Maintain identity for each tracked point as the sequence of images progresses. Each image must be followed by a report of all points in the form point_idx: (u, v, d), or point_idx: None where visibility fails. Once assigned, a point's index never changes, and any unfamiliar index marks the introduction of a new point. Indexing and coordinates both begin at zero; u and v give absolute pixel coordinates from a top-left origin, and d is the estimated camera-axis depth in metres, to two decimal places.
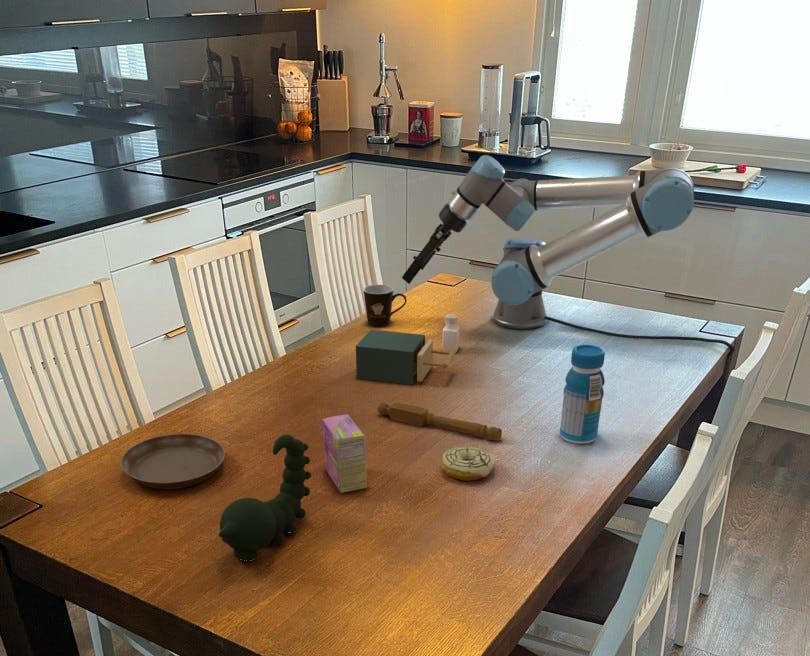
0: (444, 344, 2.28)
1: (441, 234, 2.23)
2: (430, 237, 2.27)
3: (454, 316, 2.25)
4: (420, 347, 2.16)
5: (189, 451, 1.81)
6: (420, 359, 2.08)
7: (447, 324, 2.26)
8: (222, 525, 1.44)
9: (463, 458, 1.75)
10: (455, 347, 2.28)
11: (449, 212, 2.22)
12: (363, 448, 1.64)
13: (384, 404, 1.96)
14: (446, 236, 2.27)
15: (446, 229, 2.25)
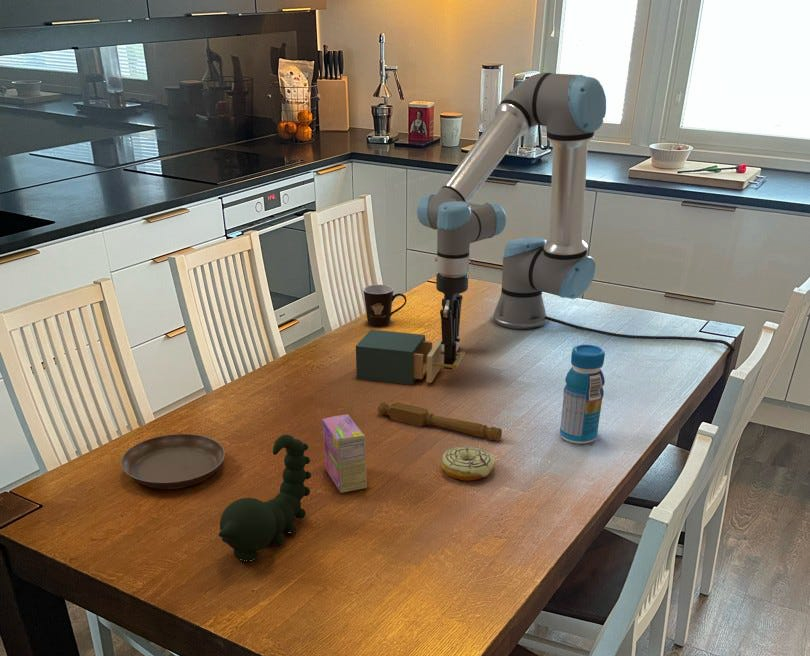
0: None
1: (446, 313, 1.99)
2: None
3: None
4: (429, 348, 2.16)
5: (189, 451, 1.81)
6: (430, 360, 2.07)
7: None
8: (222, 525, 1.44)
9: (463, 458, 1.75)
10: None
11: (442, 279, 1.98)
12: (363, 448, 1.64)
13: (384, 404, 1.96)
14: (455, 303, 2.01)
15: (450, 296, 1.99)
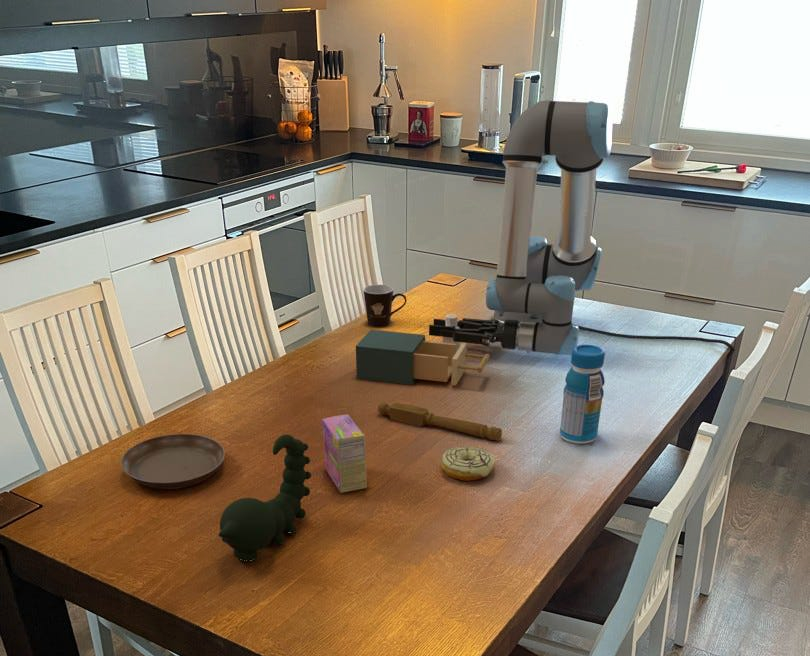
0: None
1: None
2: None
3: (454, 316, 2.25)
4: (453, 350, 2.14)
5: (189, 451, 1.81)
6: (455, 363, 2.06)
7: (447, 324, 2.26)
8: (222, 525, 1.44)
9: (463, 458, 1.75)
10: None
11: None
12: (363, 448, 1.64)
13: (384, 404, 1.96)
14: None
15: None
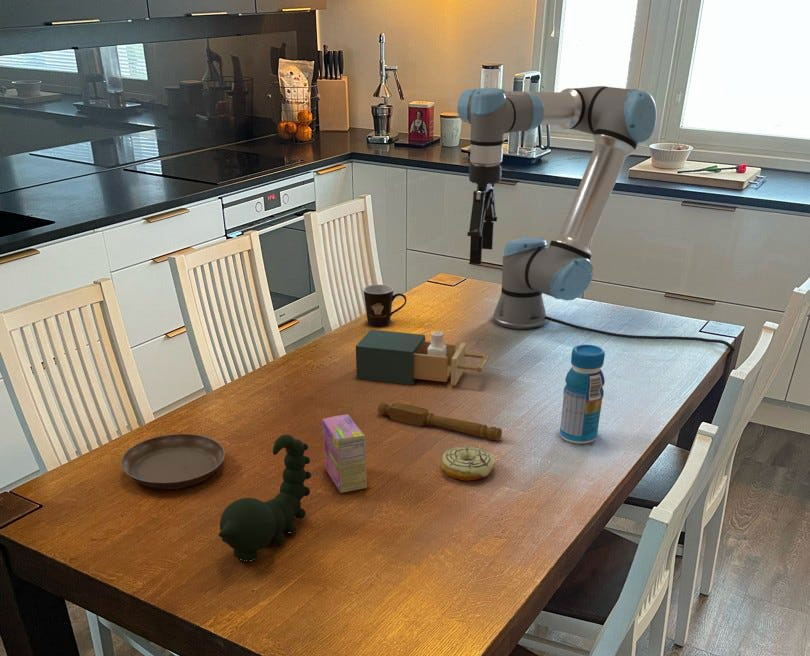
0: None
1: (480, 193, 1.96)
2: None
3: (440, 334, 2.09)
4: (453, 350, 2.14)
5: (189, 451, 1.81)
6: (454, 363, 2.06)
7: (432, 342, 2.09)
8: (222, 525, 1.44)
9: (463, 458, 1.75)
10: None
11: (476, 168, 1.97)
12: (363, 448, 1.64)
13: (384, 404, 1.96)
14: (488, 194, 2.01)
15: (483, 186, 1.98)
